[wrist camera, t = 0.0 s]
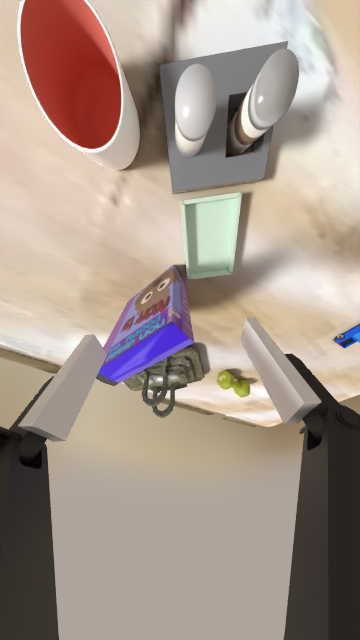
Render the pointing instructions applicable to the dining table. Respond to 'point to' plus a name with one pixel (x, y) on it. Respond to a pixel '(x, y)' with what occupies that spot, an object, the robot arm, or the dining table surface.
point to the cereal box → (148, 329)
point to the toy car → (348, 337)
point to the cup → (79, 79)
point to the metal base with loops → (167, 378)
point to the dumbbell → (233, 384)
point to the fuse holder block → (211, 118)
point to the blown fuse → (264, 101)
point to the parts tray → (210, 234)
